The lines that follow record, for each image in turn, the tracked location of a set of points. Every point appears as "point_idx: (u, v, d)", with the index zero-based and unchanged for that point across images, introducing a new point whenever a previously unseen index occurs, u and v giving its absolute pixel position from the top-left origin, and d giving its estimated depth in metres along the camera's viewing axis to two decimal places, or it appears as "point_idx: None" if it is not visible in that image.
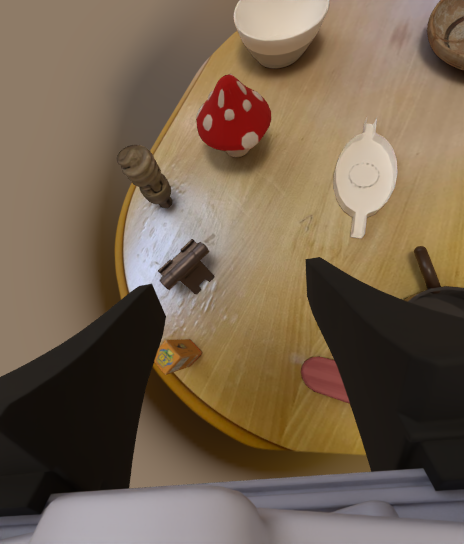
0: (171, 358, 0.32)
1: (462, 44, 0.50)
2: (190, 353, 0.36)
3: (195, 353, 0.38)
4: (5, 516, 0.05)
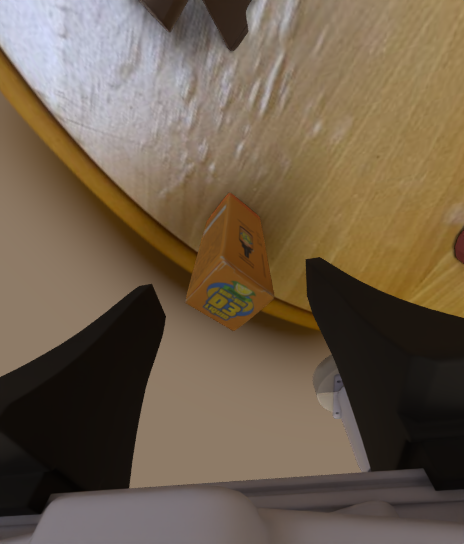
0: (248, 302, 0.11)
1: None
2: (265, 250, 0.14)
3: (262, 235, 0.16)
4: (5, 516, 0.05)
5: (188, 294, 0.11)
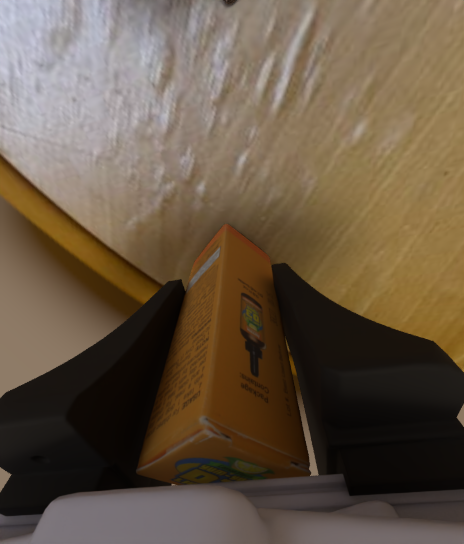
0: None
1: None
2: (283, 329, 0.09)
3: (275, 293, 0.11)
4: (5, 516, 0.05)
5: (142, 455, 0.06)
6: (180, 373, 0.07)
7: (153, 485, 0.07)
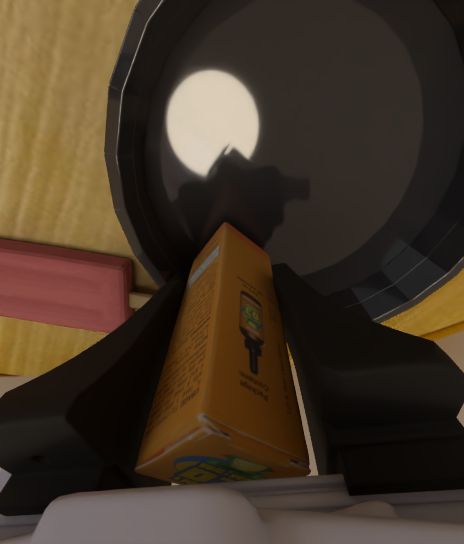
0: (258, 478, 0.06)
1: None
2: (282, 327, 0.09)
3: (275, 292, 0.11)
4: (5, 516, 0.05)
5: (141, 453, 0.06)
6: (179, 371, 0.07)
7: (153, 485, 0.07)
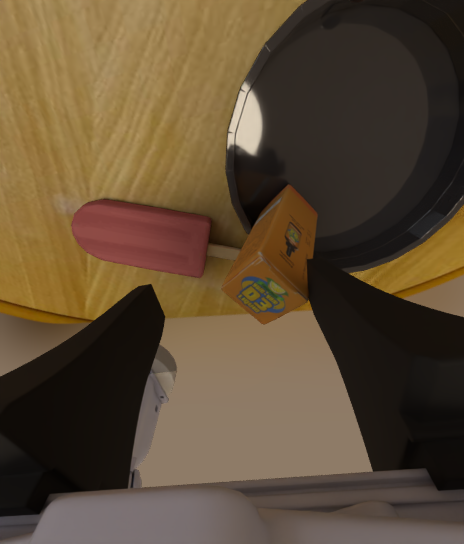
0: (280, 301, 0.11)
1: None
2: (312, 250, 0.14)
3: (314, 234, 0.16)
4: (5, 516, 0.05)
5: (225, 282, 0.12)
6: (248, 250, 0.12)
7: (104, 488, 0.07)
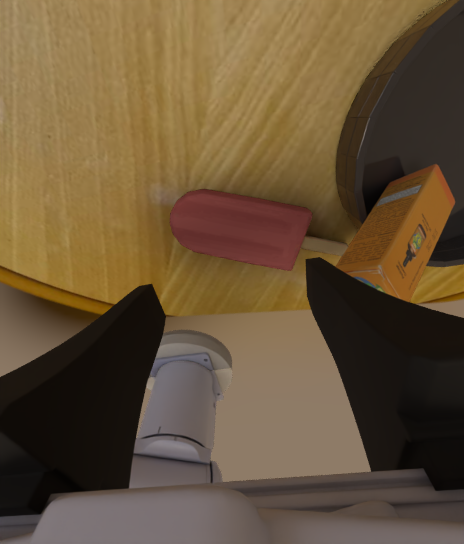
0: None
1: None
2: (430, 255, 0.14)
3: (440, 232, 0.15)
4: (5, 516, 0.05)
5: None
6: (366, 248, 0.14)
7: (105, 488, 0.07)
